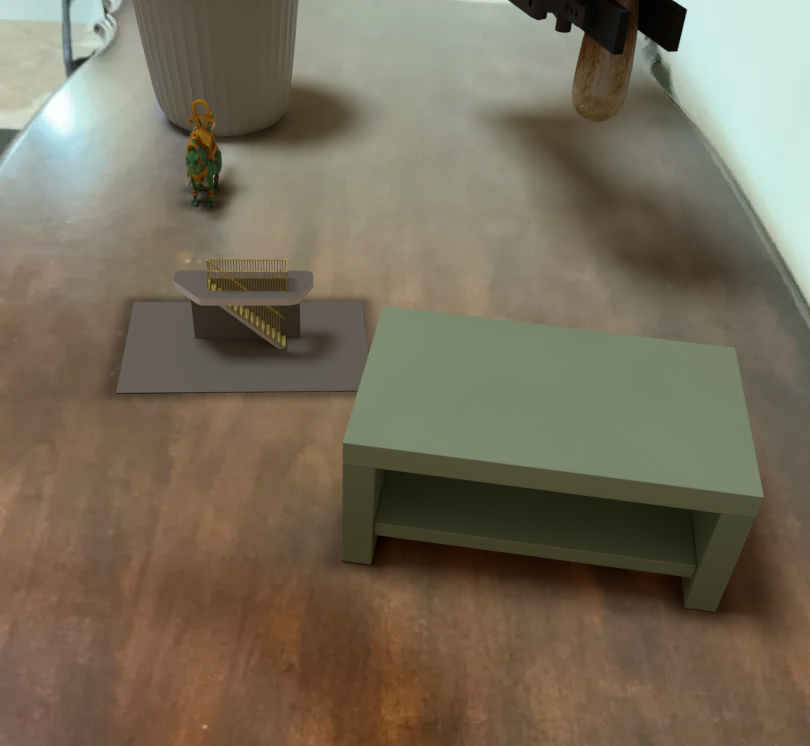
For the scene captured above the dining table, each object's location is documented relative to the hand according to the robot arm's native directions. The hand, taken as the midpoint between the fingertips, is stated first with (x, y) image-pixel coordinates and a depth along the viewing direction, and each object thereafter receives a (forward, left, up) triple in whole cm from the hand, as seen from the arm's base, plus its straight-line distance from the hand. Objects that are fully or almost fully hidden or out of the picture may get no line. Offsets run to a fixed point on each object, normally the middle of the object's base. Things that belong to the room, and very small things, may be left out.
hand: (649, 32), depth 67 cm
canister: (+39, -28, -21) cm, 52 cm away
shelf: (+4, +27, -20) cm, 34 cm away
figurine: (+36, -11, -21) cm, 43 cm away
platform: (+26, +13, -21) cm, 36 cm away
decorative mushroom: (+2, -5, -8) cm, 10 cm away
